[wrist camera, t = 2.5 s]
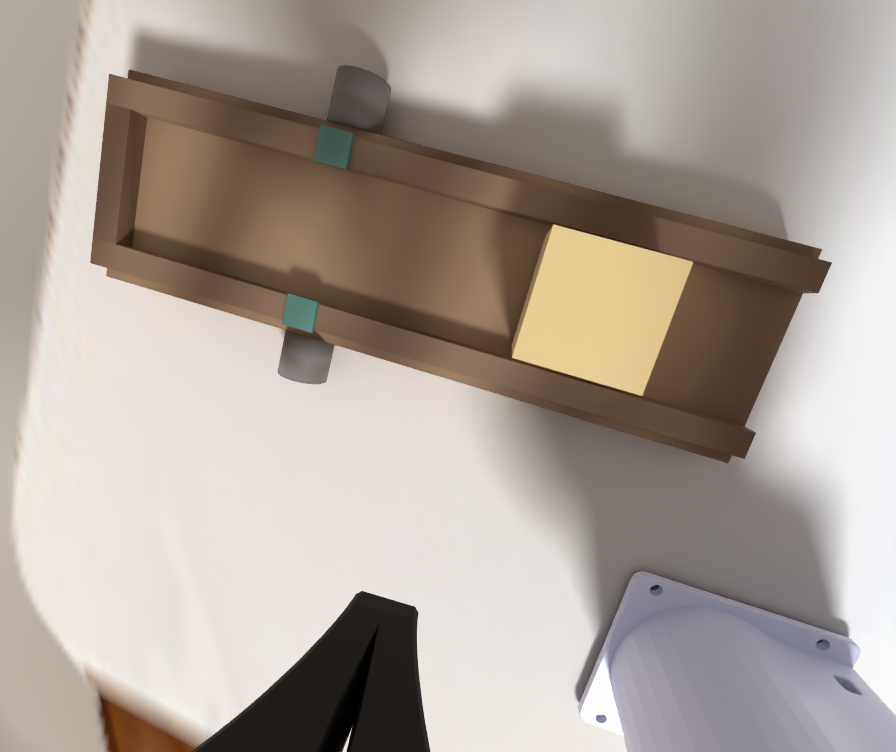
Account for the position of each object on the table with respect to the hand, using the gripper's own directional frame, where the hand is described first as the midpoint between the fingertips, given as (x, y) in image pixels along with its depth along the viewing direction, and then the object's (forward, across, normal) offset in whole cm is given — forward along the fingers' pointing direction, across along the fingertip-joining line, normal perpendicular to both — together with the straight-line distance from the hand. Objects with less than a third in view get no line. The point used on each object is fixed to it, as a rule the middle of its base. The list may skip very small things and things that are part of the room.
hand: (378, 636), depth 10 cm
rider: (+9, -4, -8) cm, 12 cm away
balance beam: (+11, +2, -8) cm, 13 cm away
